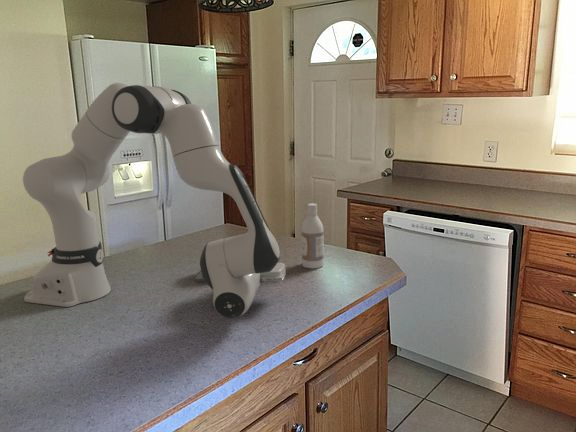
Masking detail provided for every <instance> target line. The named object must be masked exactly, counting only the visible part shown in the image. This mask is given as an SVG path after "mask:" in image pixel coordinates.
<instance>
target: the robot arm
mask: <svg viewBox="0 0 576 432" xmlns="http://www.w3.org/2000/svg"><path fill="white" fill-rule="evenodd" d="M129 133H134V134H135V133H136V134H149V135H158V134H161V135H163V136H164V137H165V138H166V139H167V141H168V145H169V146H170V151H171V154H172V155H171V156H172V159H173V163H174V166H175V169H176V171H177V174H178V176H179V178H180V179H181V180H182V181H183V182H184V183H185V184H186V185H188V186H190V187H192V188H195V189H199V190H205V191H213V192H214V191H215V192H220V193H224V194H226V195H228V196H230V197H231V198H232V199H233V200H234V202H235V203H236V205H237V207H238V210H239V212H240V214H241V216H242V218H243V220H244V223H245V225H246V227H247V229H248V231H247V232H245V233H241V234H238V235H233V236H230V237H225V238H220V239H216V240H213V241H212V240H211V241H209V242H207V243H206V244H205V246H204V247H203V249H202V252H201V254H200V258H199V259H200V260H199V268H200V271H201V272H202V275H203V277H204V279H205V281H206V282H205V283H206V284H207V285H208V287H209V288H210V291H211V292H213V298H212V303H213V306H214V309H215V311H216V313H217V314H218V315H220V316H221V317H224V318H226V319H235V318H236V319H237V318H239V317H241V316H243V315H244V314H245V313H246V312H248V311H249V309H250V307H251V306H252V303H253V301H254V299H255V295H256V294H257V293H258V290H259V287H260V286H261V285H279V284H281V283H282V282H283V281H284V280H285V277H286V274H287V273H286V271H287V270H286V264H285V263H283V262H279V260H280V258H281V252H280V251H281V250H280V247H279V246H280V245H279V244H278V241H277V239H276V238H275V236H274V234H273V232H272V231H271V229H270V228H269V225H268V224H267V221H266V219H265V217H264V214H263V213H262V211H261V208H260V206H259V204H258V202H257V200H256V198H255V195H254V193H253V191H252V189H251V187H250V184H249V183H248V181H247V179H246V177H245V174H244V173H243V172H242V170H241V169H240V168H239V167H238V165H236V164H233V163H230V162H229V161H228V160H227V159H226V158H225V156H224V154H223V152H222V150H221V147H220V143H219V141H218V137H217V135H216V132H215V129H214V126H213V124H212V122H211V120H210V117H209V115H208V113H207V112H206V110H205V109H204V108H203V107H202V106H200V105H197V104H194V103H192V102H191V101H190V99H189V98H188V97H187V96H186V94H183V93H182V92H180V91H178V90H175V89H169V88H165V87H162V86H150V85H148V86H147V85H144V86H142V85H140V84H135V85H134V84H133V85H128V84H125V83H122V82H114V83H112V84H111V83H110V85H109V86H107V87H106V88H105V89H104V90H103V91H102V92H100V94H98V96H97V97H96V98H95V99H94V101H93V102H92V103H91V104H90V105H89V106H88V108H87V110H86V111H85V112H84V113H83V116H81V118H80V120H79V121H78V123H77V124H76V125H75V127H74V128H73V130H72V132H71V140H72V143H73V147H72V149H71V150H70V151H68V152H67V153H65V154H63V155H58V156H53V157H46V158H43V159H40V160H38V161H36V162H34V163H32V164H30V165H29V166H28V167H26V169H25V170H24V172H23V176H22V183H23V186H24V189H25V191H26V193H27V194H28V196H30V197H31V198H32V199H33V200H35V201H37V202H39V203H40V204H41V205H42V206H43V208H44V209H45V210H46V212H47V214H48V216H49V218H50V219H49V220H50V221H51V224H52V229H53V235H54V241H55V247H53V248H51V250H50V251H47V257H51V256H52V257H51V260H50V261H49V262H48V263H47V264H46V265H45V266H44V267H42V268H41V269H40V270H39V271H37V273H36V274H35V275H34V277H33V279H32V285H31V286H32V289H31V290H29V291H28V292H26V294H25V296H23V297H24V303H31V304H39V305H49V306H57V307H64V308H65V307H66V308H69V307H72V306H75V305H79V304H82V303H87V302H91V301H95V300H99V299H100V298H102V297H105V296H107V295H108V294H109V293H110V292H111V290H112V287H111V285H110V282H109V280H108V277H107V275H106V272H105V267H104V254H103V247H102V242H101V241H100V236H99V227H98V218H97V216H96V214H95V213H94V212H93V211H91V210H89V209H87V208H86V206H85V205H84V202H83V200H82V199H83V198H82V194H86V193H88V192H93V191H95V190H97V189H99V188H100V187H102V186H103V185H105V184H106V183H107V182H108V180H109V179H110V174H111V173H110V171H111V169H110V164H109V163H110V161H111V159H112V157H113V155H114V154H115V152H116V151H117V150H118V149H119V147H120V146H121V144H122V143H123V142H124V140H126V138H127V136H128V135H129ZM260 284H261V285H260ZM259 285H260V286H259Z"/></svg>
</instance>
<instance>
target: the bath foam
mask: <svg viewBox="0 0 576 432" xmlns="http://www.w3.org/2000/svg"><path fill="white" fill-rule="evenodd" d="M317 204H318V203H311V202H310V203H307V216H306V217H305V218H304V221H303V223H302V225H301V265H302V267H304V268H306V269H311V270H312V269H313V270H314V269H320V268H322V267H323V266H324V262H325V260H324V259H325V258H324V257H325V255H324V254H325V251H324V250H325V248H324V247H325V246H324V240H325V239H324V237H325V236H324V234H325V232H324V225H323V222H322V220H320V217H319V216H318V205H317Z"/></svg>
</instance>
